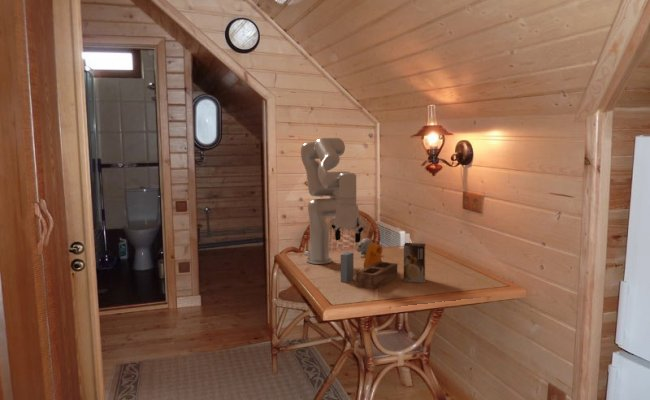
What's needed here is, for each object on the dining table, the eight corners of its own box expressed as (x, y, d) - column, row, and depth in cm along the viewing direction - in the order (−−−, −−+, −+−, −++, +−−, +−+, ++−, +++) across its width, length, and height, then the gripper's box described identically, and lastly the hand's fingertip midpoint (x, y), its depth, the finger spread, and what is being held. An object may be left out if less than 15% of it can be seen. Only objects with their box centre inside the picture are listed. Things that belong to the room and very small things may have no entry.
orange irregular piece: (375, 273, 232) (375, 247, 231) (363, 270, 237) (363, 245, 236) (390, 268, 240) (390, 244, 238) (378, 265, 245) (378, 241, 243)
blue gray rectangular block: (340, 281, 218) (340, 254, 217) (347, 278, 223) (347, 251, 222) (346, 282, 217) (346, 255, 215) (353, 279, 222) (353, 252, 220)
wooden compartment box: (356, 286, 212) (356, 272, 211) (379, 273, 230) (379, 261, 229) (375, 289, 207) (375, 275, 206) (397, 276, 225) (397, 263, 225)
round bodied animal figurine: (351, 255, 266) (351, 239, 265) (365, 251, 274) (366, 236, 273) (361, 257, 261) (361, 241, 260) (376, 253, 269) (376, 238, 268)
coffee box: (425, 279, 222) (426, 243, 220) (424, 283, 216) (425, 246, 214) (404, 277, 224) (405, 242, 222) (402, 281, 218) (403, 245, 216)
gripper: (325, 201, 217) (326, 240, 219) (361, 203, 208) (361, 244, 210) (334, 199, 223) (334, 237, 225) (369, 201, 214) (369, 241, 216)
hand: (347, 241), depth 217 cm, fingers open, 9 cm apart
